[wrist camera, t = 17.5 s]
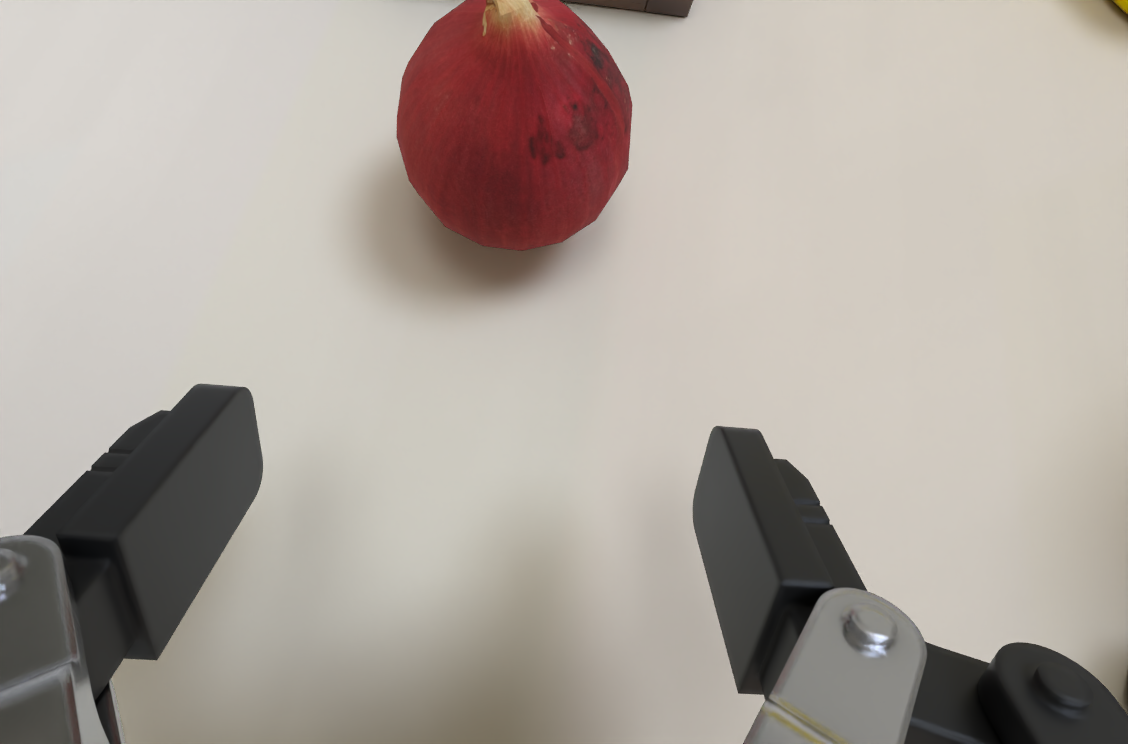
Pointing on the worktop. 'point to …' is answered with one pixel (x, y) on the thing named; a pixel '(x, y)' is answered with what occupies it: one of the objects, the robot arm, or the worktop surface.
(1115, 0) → the element tile
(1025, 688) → the robot arm
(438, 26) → the onion
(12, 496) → the worktop surface
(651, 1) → the tray
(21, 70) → the worktop surface
